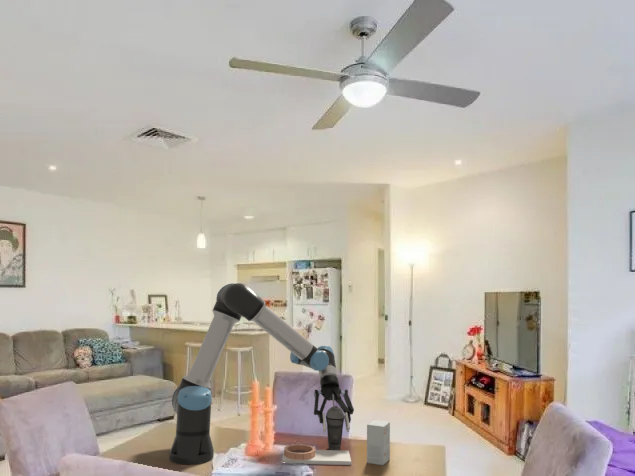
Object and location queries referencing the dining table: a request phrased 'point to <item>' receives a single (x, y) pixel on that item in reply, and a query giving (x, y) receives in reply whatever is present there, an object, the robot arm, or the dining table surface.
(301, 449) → the terracotta ring holder
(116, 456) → the dining table surface
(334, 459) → the pale grey board
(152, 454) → the dining table surface
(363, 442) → the dining table surface
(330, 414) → the beverage cup
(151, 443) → the dining table surface
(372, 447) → the small box
